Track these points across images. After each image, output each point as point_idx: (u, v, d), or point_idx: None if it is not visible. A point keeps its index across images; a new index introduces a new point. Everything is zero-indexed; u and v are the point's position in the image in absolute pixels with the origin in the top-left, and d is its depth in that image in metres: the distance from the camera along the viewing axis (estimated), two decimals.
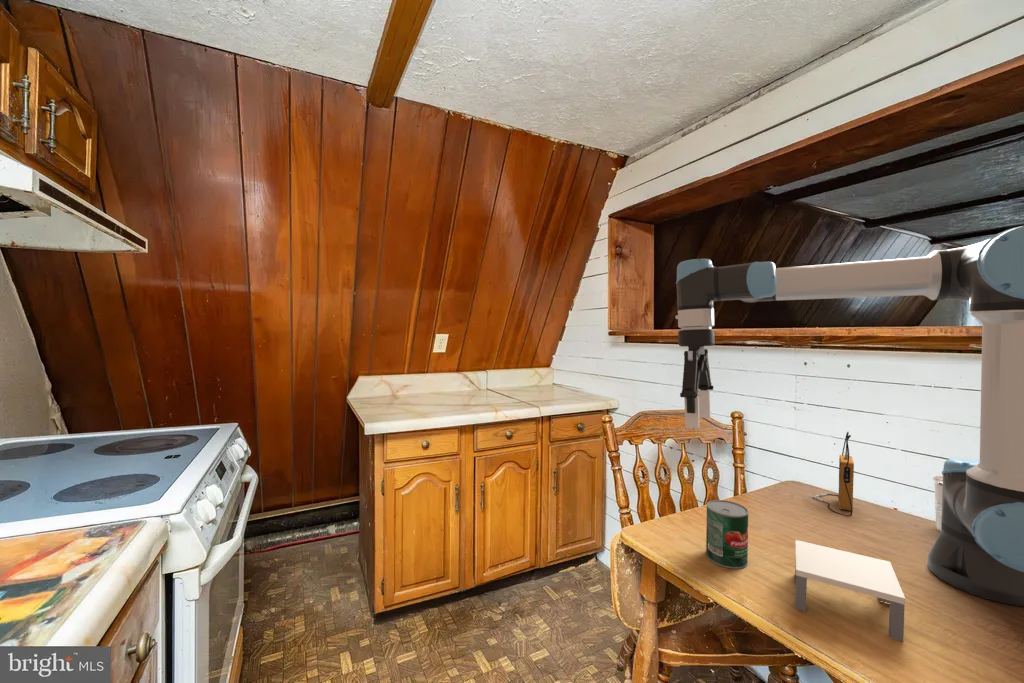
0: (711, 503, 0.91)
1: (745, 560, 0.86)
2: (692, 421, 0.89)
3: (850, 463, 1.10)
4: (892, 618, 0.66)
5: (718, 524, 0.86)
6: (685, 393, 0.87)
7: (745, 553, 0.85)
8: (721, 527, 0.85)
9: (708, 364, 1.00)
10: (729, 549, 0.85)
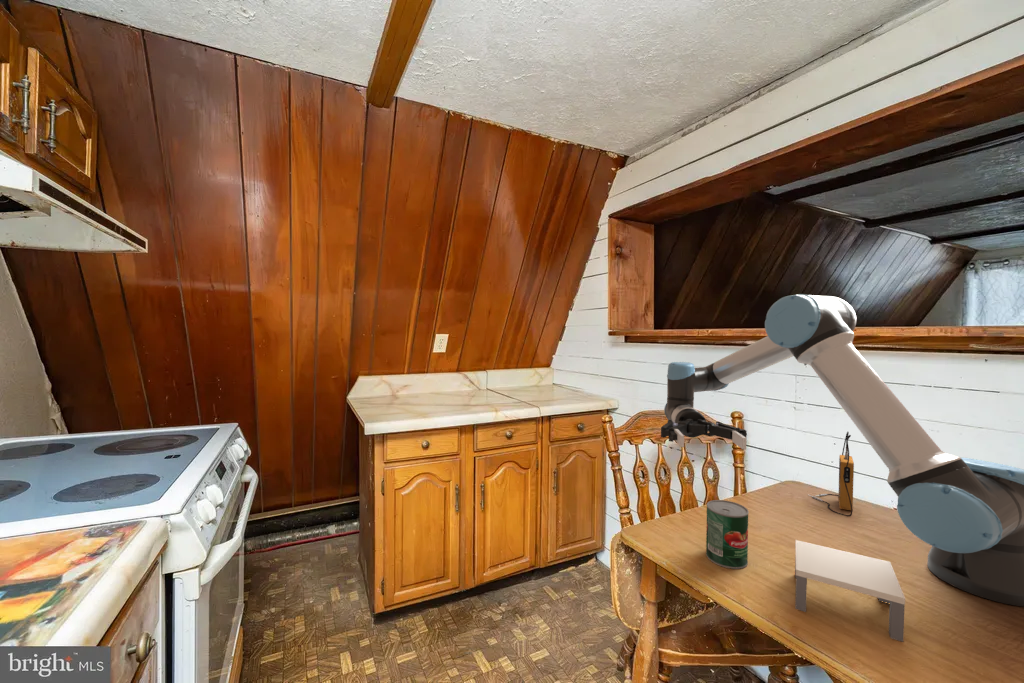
0: (711, 503, 0.91)
1: (745, 560, 0.86)
2: (679, 439, 1.00)
3: (850, 463, 1.10)
4: (892, 618, 0.66)
5: (718, 524, 0.86)
6: (661, 434, 1.06)
7: (745, 553, 0.85)
8: (721, 527, 0.85)
9: (727, 425, 1.09)
10: (729, 549, 0.85)
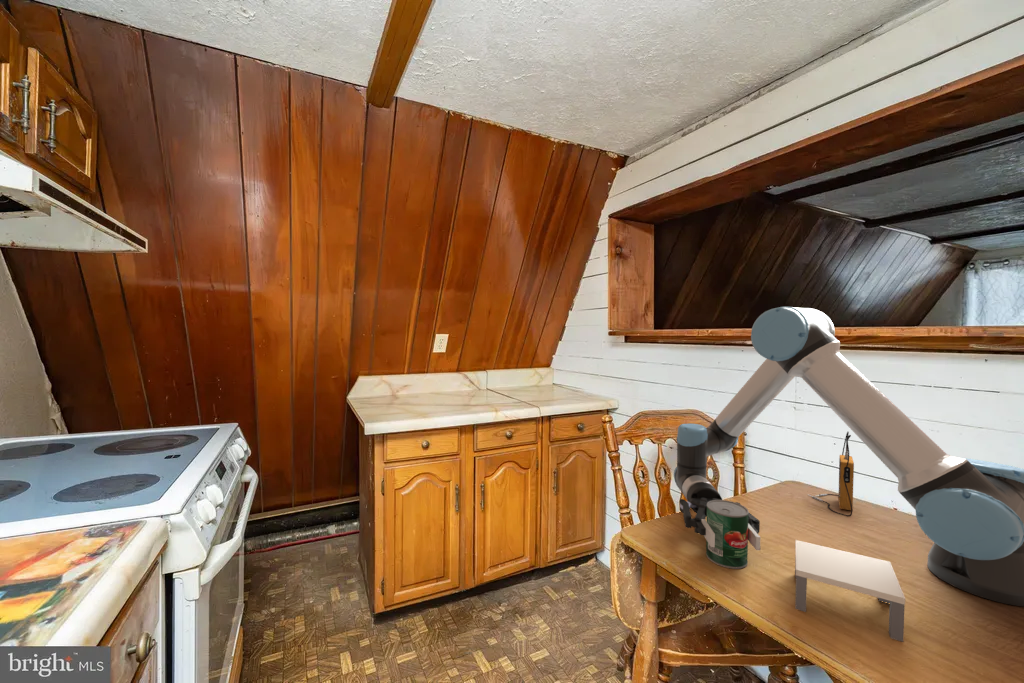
0: (711, 503, 0.91)
1: (745, 560, 0.86)
2: (708, 536, 0.86)
3: (850, 463, 1.10)
4: (892, 618, 0.66)
5: (718, 524, 0.86)
6: (685, 523, 0.92)
7: (745, 553, 0.85)
8: (721, 527, 0.85)
9: None
10: (729, 549, 0.85)
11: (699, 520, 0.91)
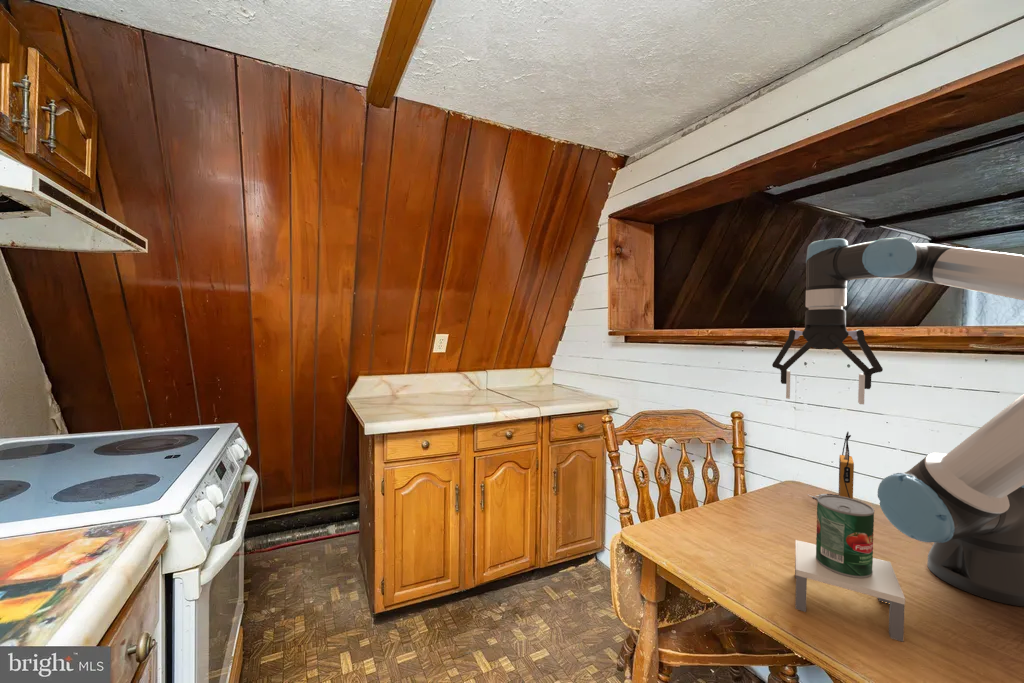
0: (821, 499, 0.76)
1: (871, 568, 0.71)
2: None
3: (850, 463, 1.10)
4: (892, 618, 0.66)
5: (837, 524, 0.71)
6: None
7: (871, 559, 0.70)
8: (842, 527, 0.71)
9: (867, 346, 0.91)
10: (852, 554, 0.70)
11: (784, 370, 1.00)
